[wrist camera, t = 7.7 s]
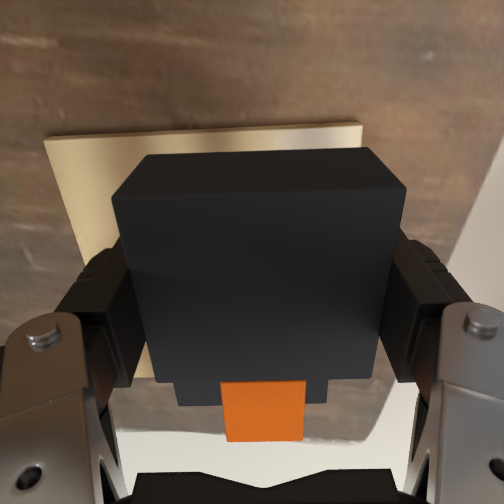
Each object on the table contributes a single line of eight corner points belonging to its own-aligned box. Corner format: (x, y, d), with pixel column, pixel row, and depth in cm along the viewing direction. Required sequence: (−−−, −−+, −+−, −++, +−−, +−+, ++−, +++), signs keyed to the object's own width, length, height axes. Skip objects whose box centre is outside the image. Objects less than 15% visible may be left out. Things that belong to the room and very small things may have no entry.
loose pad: (369, 146, 10) (409, 187, 7) (341, 366, 14) (360, 440, 12) (145, 153, 10) (108, 196, 8) (185, 369, 14) (170, 443, 12)
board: (359, 120, 22) (363, 124, 22) (336, 364, 33) (338, 373, 33) (50, 136, 23) (42, 140, 22) (126, 369, 34) (123, 378, 33)
